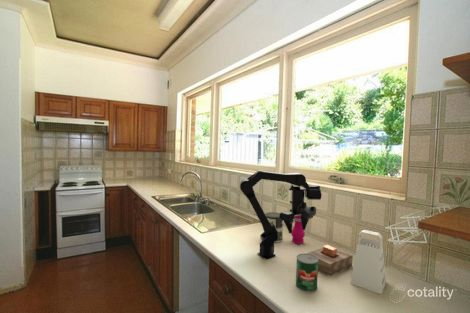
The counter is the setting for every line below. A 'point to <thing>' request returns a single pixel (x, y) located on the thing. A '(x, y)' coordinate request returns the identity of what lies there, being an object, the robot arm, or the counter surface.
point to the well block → (332, 261)
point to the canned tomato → (306, 272)
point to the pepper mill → (298, 231)
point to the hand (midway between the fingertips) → (297, 231)
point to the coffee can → (276, 224)
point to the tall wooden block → (330, 251)
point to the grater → (369, 264)
